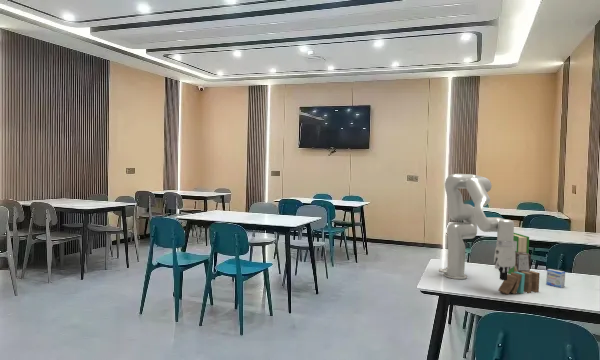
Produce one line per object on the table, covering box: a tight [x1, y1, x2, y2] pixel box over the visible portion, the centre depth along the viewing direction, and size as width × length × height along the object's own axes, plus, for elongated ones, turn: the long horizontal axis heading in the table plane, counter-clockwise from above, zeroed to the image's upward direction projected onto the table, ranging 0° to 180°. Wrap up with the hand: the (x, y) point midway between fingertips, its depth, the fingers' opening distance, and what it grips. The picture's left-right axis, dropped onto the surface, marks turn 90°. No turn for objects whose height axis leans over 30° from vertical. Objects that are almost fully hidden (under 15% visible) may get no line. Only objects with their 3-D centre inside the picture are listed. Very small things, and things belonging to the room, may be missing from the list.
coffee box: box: [514, 252, 532, 273], centre depth 251 cm, size 9×6×16 cm
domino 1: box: [497, 273, 518, 296], centre depth 225 cm, size 2×5×10 cm
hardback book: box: [507, 232, 530, 275], centre depth 271 cm, size 18×7×24 cm, turn 3°
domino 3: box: [521, 271, 532, 294], centre depth 229 cm, size 2×5×10 cm, turn 20°
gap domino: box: [514, 272, 525, 294], centre depth 228 cm, size 2×5×10 cm, turn 20°
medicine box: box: [545, 268, 566, 289], centre depth 244 cm, size 8×4×9 cm, turn 36°
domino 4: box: [529, 270, 541, 293], centre depth 231 cm, size 2×5×10 cm, turn 20°
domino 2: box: [509, 272, 522, 295], centre depth 226 cm, size 2×5×10 cm, turn 20°
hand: (503, 279), depth 224 cm, fingers closed
